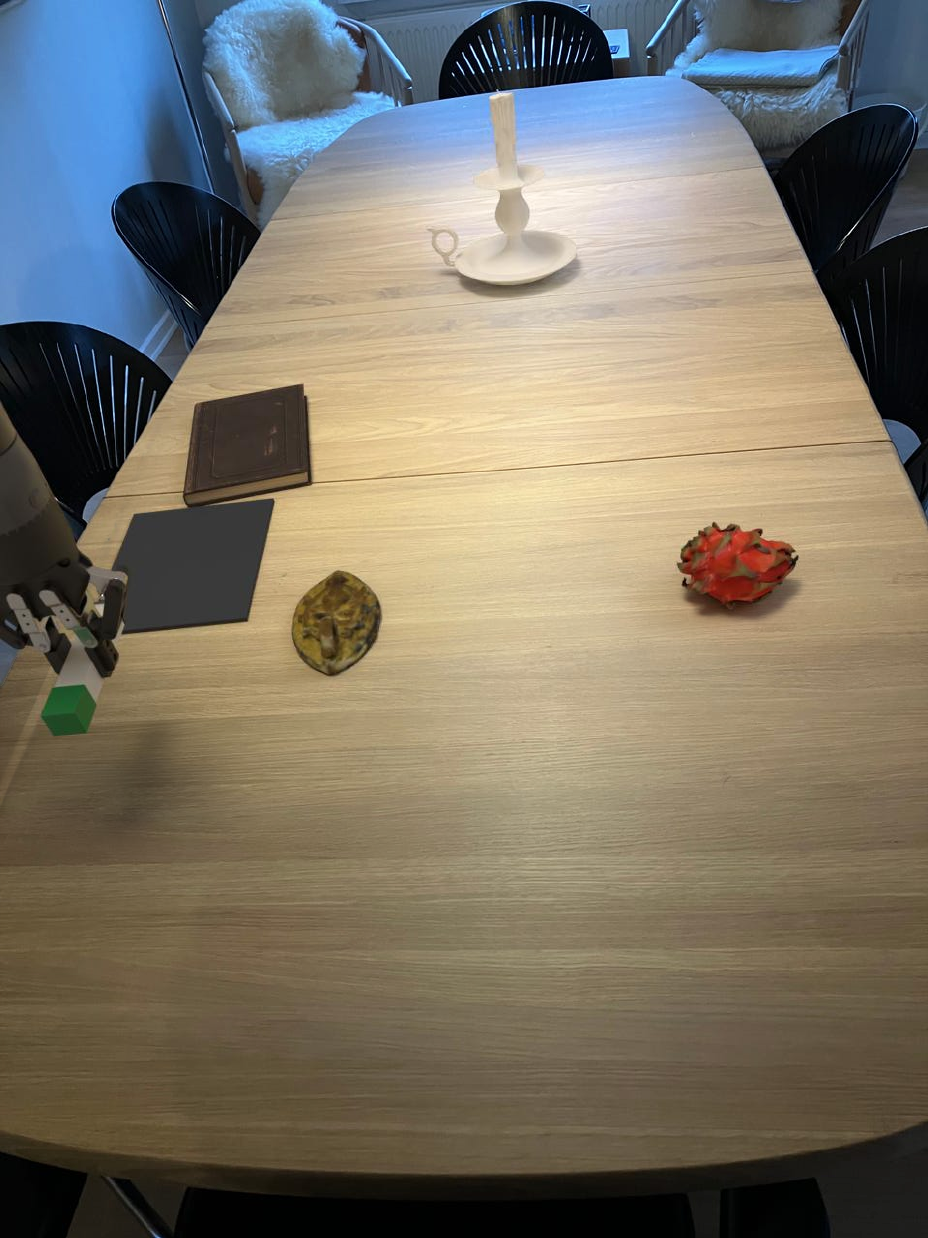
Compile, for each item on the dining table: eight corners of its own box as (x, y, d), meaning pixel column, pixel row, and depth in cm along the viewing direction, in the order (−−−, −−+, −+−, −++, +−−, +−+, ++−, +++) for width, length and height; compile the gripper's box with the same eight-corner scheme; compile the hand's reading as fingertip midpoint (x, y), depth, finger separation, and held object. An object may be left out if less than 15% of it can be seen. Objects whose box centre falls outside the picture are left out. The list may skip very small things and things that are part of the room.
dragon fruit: (664, 602, 96) (779, 606, 96) (684, 612, 87) (810, 615, 87) (669, 519, 94) (785, 523, 95) (689, 521, 86) (817, 525, 86)
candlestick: (444, 253, 167) (420, 79, 148) (581, 244, 162) (575, 64, 143) (423, 304, 152) (393, 118, 133) (573, 296, 147) (565, 102, 128)
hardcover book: (306, 397, 134) (303, 382, 132) (311, 484, 117) (307, 469, 115) (197, 417, 133) (192, 403, 132) (186, 508, 116) (180, 493, 115)
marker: (98, 623, 82) (87, 602, 80) (128, 620, 82) (117, 599, 80) (53, 736, 72) (39, 716, 70) (86, 733, 72) (73, 712, 70)
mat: (86, 637, 100) (84, 634, 100) (135, 516, 116) (133, 513, 116) (247, 621, 99) (246, 617, 99) (274, 501, 115) (273, 497, 115)
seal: (299, 592, 103) (294, 688, 92) (284, 560, 100) (276, 655, 89) (379, 572, 102) (384, 666, 91) (366, 539, 99) (369, 632, 88)
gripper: (104, 463, 67) (182, 632, 79) (-77, 484, 68) (26, 648, 80) (74, 525, 62) (163, 697, 74) (-122, 547, 63) (-4, 714, 75)
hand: (91, 671), depth 77 cm, fingers closed on marker, 2 cm apart
